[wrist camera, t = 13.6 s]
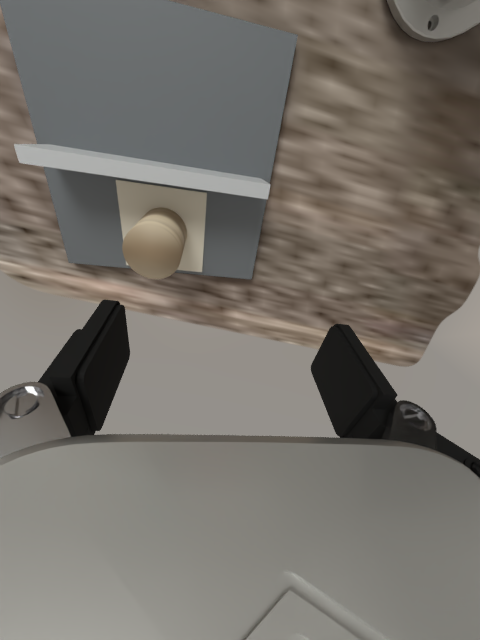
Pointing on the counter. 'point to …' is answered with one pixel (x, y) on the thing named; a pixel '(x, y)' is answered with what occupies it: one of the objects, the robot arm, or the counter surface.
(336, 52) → the counter surface
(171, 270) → the birch cylinder
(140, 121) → the fence board
